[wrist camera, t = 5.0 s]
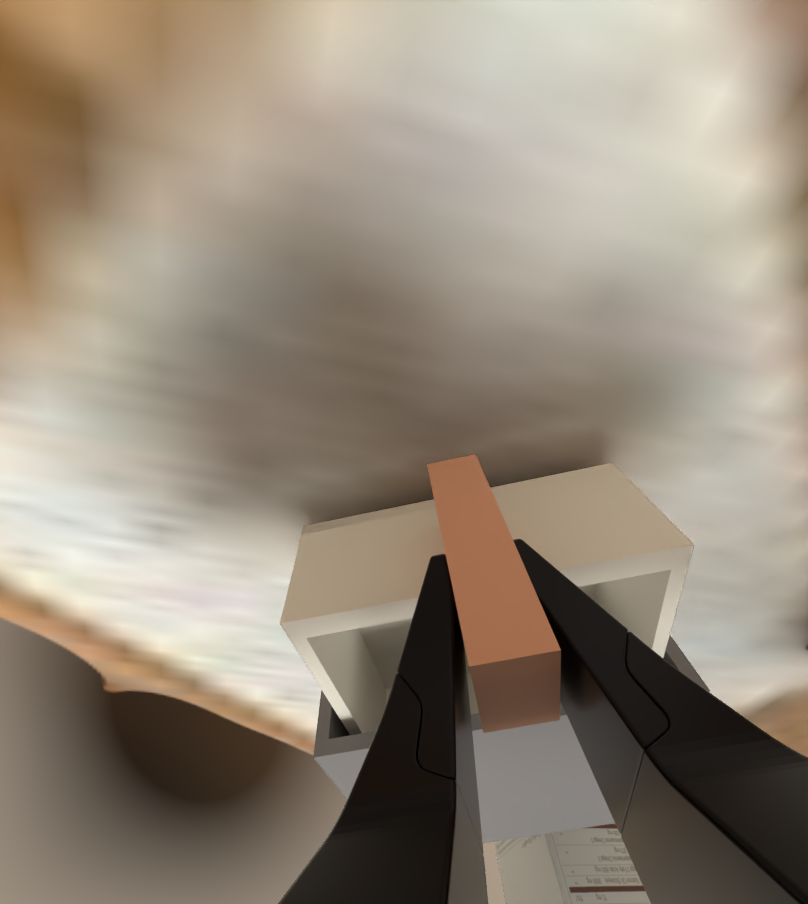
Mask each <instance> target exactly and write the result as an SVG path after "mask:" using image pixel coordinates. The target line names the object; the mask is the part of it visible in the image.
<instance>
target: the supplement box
mask: <svg viewBox="0 0 808 904" xmlns="http://www.w3.org/2000/svg"><path fill="white" fill-rule="evenodd" d="M494 845H495V850H496V855H497V860H498V865H499V871H500V876H501V881H502V886H503V892H504V897H505V901H506V904H651V902H650V900H649V898H648V896H647V893H646V891H645V889H644V887H643V885H642V882H641V880H640V878H639V876H638V873H637V871H636V869H635V867H634V864H633V862H632V860H631V858H630V855H629V853H628V851H627V849H626V847H625V844H624V842H623V840H622V838H621V834H620V833H619V831H618V828H617V826H616V824H615V823H613V824H606V825H600V826H593V827H587V828H580V829H574V830H567V831H561V832H554V833H547V834H541V835H534V836H528V837H521V838H515V839H508V840H502V841H495V842H494Z"/></svg>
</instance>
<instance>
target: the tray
mask: <svg viewBox="0 0 808 904" xmlns="http://www.w3.org/2000/svg"><path fill="white" fill-rule="evenodd" d="M427 468H428V473H429V477H430V482H431V487H432V492H433V497H434V499H433V500H428V501H423V502H418V503H413V504H408V505H404V506H399V507H394V508H389V509H384V510H379V511H374V512H369V513H365V514H360V515H355V516H350V517H345V518H340V519H335V520H330V521H326V522H321V523H316V524H311V525H306V526H304V527H303V531H302V536H301V540H300V544H299V548H298V552H297V556H296V560H295V564H294V568H293V572H292V576H291V580H290V584H289V588H288V593H287V597H286V601H285V605H284V609H283V613H282V617H281V621H280V625H281V626H282V628H283V630H284V631H285V633H286V634H287V636H288V638H289V639H290V641H291V642H292V644H293V645H294V647H295V649H296V650H297V652H298V653H299V655H300V657H301V658H302V660H303V661H304V663H305V664H306V666H307V668H308V669H309V671H310V672H311V674H312V675H313V677H314V679H315V680H316V682H317V683H318V685H319V687H320V688H321V690H322V691H323V693H324V694H325V696H326V698H327V699H328V701H329V702H330V704H331V706H332V707H333V709H334V710H335V712H336V713H337V715H338V717H339V718H340V720H341V721H342V723H343V724H344V726H345V728H346V729H347V731H348V732H349V734H350V735H355V734H361V733H367V732H373V731H376V730H377V728H378V725H379V723H380V720H381V718H382V715H383V713H384V710H385V707H386V703H387V700H388V697H389V694H390V691H391V688H392V685H393V681H394V678H395V675H396V674H398V673H397V668H398V665H399V662H400V658H401V655H402V652H403V648H404V645H405V641H406V638H407V635H408V631H409V628H410V625H411V621H412V618H413V614H414V611H415V608H416V604H417V601H418V598H419V594H420V591H421V588H422V584H423V581H424V577H425V574H426V571H427V567H428V564H429V561H430V558H431V557H432V556H434V555H439V554H445V555H446V559H447V563H448V568H449V573H450V578H451V583H452V587H453V592H454V597H455V602H456V606H457V611H458V616H459V621H460V626H461V630H462V635H463V640H464V647H465V658H466V669H467V680H468V691H469V702H470V713H471V715H472V714H478V713H479V714H480V719H481V724H482V728H483V733H487V732H493V731H499V730H505V729H511V728H517V727H523V726H529V725H535V724H540V723H546V722H552V721H558V720H560V675H561V649H560V647H559V645H558V642H557V640H556V638H555V635H554V633H553V631H552V628H551V626H550V624H549V622H548V619H547V617H546V615H545V612H544V610H543V608H542V605H541V603H540V601H539V599H538V596H537V594H536V592H535V589H534V587H533V585H532V582H531V580H530V578H529V576H528V573H527V571H526V569H525V566H524V564H523V562H522V559H521V557H520V555H519V553H518V550H517V548H516V546H515V543H514V541H513V540H514V539H522V540H523V541H524V542H526V543H527V544H528V545H529V546H530V547H531V548H533V549H534V550H535V551H536V552H537V553H539V554H540V555H541V556H542V557H543V558H544V559H546V560H547V561H548V562H549V563H550V564H552V565H553V566H554V567H555V568H556V569H557V570H559V571H560V572H561V573H562V574H563V575H564V576H566V577H567V578H568V579H569V580H570V581H572V582H573V583H574V584H575V585H576V586H577V587H579V588H580V589H581V590H582V591H583V592H585V593H586V594H587V595H588V596H589V597H590V598H592V599H593V600H594V601H595V602H596V603H597V604H599V605H600V606H601V607H602V608H603V609H605V610H606V611H607V612H608V613H609V614H610V615H612V616H613V617H614V618H615V619H616V620H618V621H619V622H620V623H621V624H622V625H623V626H625V627H626V628H627V629H628V632H629V631H630V632H632V633H633V634H634V635H635V636H637V637H638V638H639V639H640V640H641V641H642V642H644V643H645V644H646V645H647V646H648V647H650V648H651V649H652V650H653V651H655V652H656V653H657V654H658V655H659V656H661V657H662V658H663V657H664V654H665V650H666V646H667V643H668V639H669V635H670V632H671V628H672V624H673V621H674V617H675V613H676V610H677V606H678V602H679V599H680V595H681V591H682V588H683V584H684V580H685V577H686V573H687V569H688V566H689V562H690V558H691V555H692V551H693V547H694V544H693V543H692V542H691V541H690V540H689V539H688V538H687V537H686V536H685V535H684V534H683V533H682V532H681V531H680V530H679V529H678V528H677V527H676V526H675V525H674V524H673V523H672V522H671V521H670V520H669V519H668V518H667V517H666V516H665V515H664V514H663V513H662V512H661V511H660V510H659V509H658V508H657V507H656V506H655V505H654V504H653V503H652V502H651V501H650V500H649V499H648V498H647V497H646V496H645V495H644V494H643V493H642V492H641V491H640V490H639V489H638V488H637V487H636V486H635V485H634V484H633V483H632V482H631V481H630V480H629V479H628V478H627V477H626V476H625V475H624V474H623V473H622V472H621V471H620V470H619V469H618V468H617V467H616V466H615V465H614V464H613V463H608V464H603V465H598V466H594V467H589V468H584V469H579V470H574V471H569V472H564V473H559V474H555V475H550V476H545V477H540V478H535V479H530V480H525V481H520V482H516V483H511V484H506V485H501V486H496V487H491V488H490V486H489V483H488V481H487V479H486V477H485V474H484V472H483V470H482V467H481V465H480V463H479V460H478V458H477V456H476V454H473V455H469V456H464V457H459V458H454V459H450V460H445V461H440V462H435V463H431V464H427Z"/></svg>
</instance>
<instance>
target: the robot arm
mask: <svg viewBox="0 0 808 904" xmlns="http://www.w3.org/2000/svg"><path fill="white" fill-rule="evenodd" d="M513 541H514V543H515V546H516V548H517V550H518V553H519V555H520V557H521V559H522V562H523V564H524V566H525V569H526V571H527V573H528V576H529V578H530V580H531V582H532V585H533V587H534V589H535V592H536V594H537V596H538V599H539V601H540V603H541V605H542V608H543V610H544V612H545V615H546V617H547V619H548V622H549V624H550V626H551V628H552V631H553V633H554V635H555V638H556V640H557V642H558V645H559V647H560V649H561V675H560V701H561V703H562V705H563V708H564V710H565V712H566V714H567V717H568V719H569V721H570V723H571V726H572V728H573V730H574V732H575V735H576V737H577V739H578V741H579V743H580V746H581V748H582V750H583V752H584V755H585V757H586V759H587V761H588V764H589V766H590V768H591V770H592V773H593V775H594V777H595V779H596V781H597V784H598V786H599V788H600V790H601V793H602V795H603V797H604V799H605V802H606V804H607V806H608V808H609V811H610V813H611V815H612V817H613V819H614V822H615V824H616V826H617V828H618V831H619V833H620V834H621V838H622V840H623V842H624V844H625V847H626V849H627V851H628V853H629V855H630V858H631V860H632V862H633V864H634V867H635V869H636V871H637V873H638V876H639V878H640V880H641V882H642V885H643V887H644V889H645V891H646V893H647V896H648V898H649V900H650V902H651V904H808V757H806V756H804V755H802V754H800V753H798V752H796V751H795V750H793V749H791V748H789V747H787V746H786V745H784V744H783V743H781V742H779V741H778V740H776V739H774V738H773V737H771V736H770V735H769V734H767V733H766V732H764V731H763V730H761V729H760V728H758V727H757V726H756V725H754V724H753V723H751V722H750V721H749V720H747V719H746V718H744V717H743V716H742V715H740V714H739V713H737V712H736V711H735V710H733V709H732V708H730V707H729V706H728V705H726V704H725V703H723V702H722V701H721V700H719V699H718V698H716V697H715V696H714V695H712V694H711V693H709V692H708V691H707V690H705V689H704V688H702V687H701V686H700V685H698V684H697V683H695V682H694V681H693V680H691V679H690V678H688V677H687V676H686V675H684V674H683V673H682V672H680V671H679V670H678V669H676V668H675V667H674V666H672V665H671V664H670V663H668V662H667V661H666V660H664V659H663V658H662V657H661V656H659V655H658V654H657V653H656V652H655V651H653V650H652V649H651V648H650V647H648V646H647V645H646V644H645V643H644V642H642V641H641V640H640V639H639V638H638V637H637V636H635V635H634V634H633V633H632V632H630V631H629V632H628V629H627V628H626V627H625V626H623V625H622V624H621V623H620V622H619V621H618V620H616V619H615V618H614V617H613V616H612V615H610V614H609V613H608V612H607V611H606V610H605V609H603V608H602V607H601V606H600V605H599V604H597V603H596V602H595V601H594V600H593V599H592V598H590V597H589V596H588V595H587V594H586V593H585V592H583V591H582V590H581V589H580V588H579V587H577V586H576V585H575V584H574V583H573V582H572V581H570V580H569V579H568V578H567V577H566V576H564V575H563V574H562V573H561V572H560V571H559V570H557V569H556V568H555V567H554V566H553V565H552V564H550V563H549V562H548V561H547V560H546V559H544V558H543V557H542V556H541V555H540V554H539V553H537V552H536V551H535V550H534V549H533V548H531V547H530V546H529V545H528V544H527V543H526V542H524V541H523V540H522V539H514V540H513ZM397 673H398V674H396V675H395V678H394V681H393V685H392V688H391V691H390V694H389V697H388V700H387V703H386V707H385V710H384V713H383V715H382V718H381V720H380V723H379V725H378V728H377V730H376V733H375V736H374V738H373V740H372V743H371V745H370V747H369V750H368V752H367V755H366V757H365V759H364V762H363V764H362V766H361V769H360V771H359V774H358V776H357V778H356V781H355V783H354V785H353V788H352V790H351V792H350V795H349V797H348V799H347V802H346V804H345V806H344V808H343V810H342V812H341V815H340V816H339V818H338V820H337V822H336V824H335V826H334V827H333V829H332V831H331V832H330V834H329V835H328V837H327V838H326V840H325V841H324V843H323V844H322V845H321V847H320V848H319V850H318V851H317V852H316V854H315V855H314V856H313V858H312V859H311V860H310V862H309V863H308V864H307V866H306V867H305V868H304V870H303V871H302V872H301V874H300V875H299V876H298V878H297V879H296V880H295V882H294V883H293V884H292V886H291V887H290V888H289V890H288V891H287V893H286V894H285V895H284V897H283V898H282V899H281V901H280V902H279V903H278V904H488V897H487V886H486V876H485V865H484V857H483V843H482V832H481V821H480V810H479V799H478V789H477V778H476V767H475V756H474V745H473V734H472V723H471V713H470V702H469V691H468V680H467V669H466V658H465V647H464V640H463V635H462V630H461V626H460V621H459V616H458V611H457V606H456V602H455V597H454V592H453V587H452V583H451V578H450V573H449V568H448V563H447V559H446V555H445V554H439V555H434V556H432V557H431V558H430V561H429V564H428V567H427V571H426V574H425V577H424V581H423V584H422V588H421V591H420V594H419V598H418V601H417V604H416V608H415V611H414V614H413V618H412V621H411V625H410V628H409V631H408V635H407V638H406V641H405V645H404V648H403V652H402V655H401V658H400V662H399V665H398V668H397Z"/></svg>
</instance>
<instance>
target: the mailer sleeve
mask: <svg viewBox="0 0 808 904" xmlns="http://www.w3.org/2000/svg"><path fill="white" fill-rule="evenodd" d="M663 659H664V660H666V661H667V662H668V663H670V664H671V665H672V666H674V667H675V668H676V669H678V670H679V671H680V672H682V673H683V674H684V675H686V676H687V677H688V678H690V679H691V680H693V681H694V682H695V683H697V684H698V685H700V686H701V687H702V688H704V689H705V690H707V691H708V692H709V691H710V690H709V689H708V687H707V686H706V684H705V683H704V682H703V680H702V679H701V677H700V676H699V675H698V673H697V672H696V670H695V669H694V668H693V666H692V665H691V663H690V662H689V661H688V659H687V658H686V657H685V655H684V654H683V652H682V651H681V650H680V648H679V647H678V645H677V644H676V643H675V641H674V640H673V638H672V637H671V636H670V635H669V639H668V643H667V646H666V650H665V654H664V657H663ZM471 723H472V734H473V745H474V756H475V767H476V778H477V789H478V799H479V810H480V821H481V832H482V843H488V842H495V841H502V840H508V839H515V838H521V837H528V836H534V835H541V834H547V833H554V832H561V831H567V830H574V829H580V828H587V827H593V826H600V825H606V824H613V823H615V822H614V819H613V817H612V815H611V813H610V811H609V808H608V806H607V804H606V802H605V799H604V797H603V795H602V793H601V790H600V788H599V786H598V784H597V781H596V779H595V777H594V775H593V773H592V770H591V768H590V766H589V764H588V761H587V759H586V757H585V755H584V752H583V750H582V748H581V746H580V743H579V741H578V739H577V737H576V735H575V732H574V730H573V728H572V726H571V723H570V721H569V719H568V717H567V714H566V712H565V710H564V708H563V705H562V703H561V701H560V720H558V721H552V722H546V723H540V724H535V725H529V726H523V727H517V728H511V729H505V730H499V731H493V732H487V733H483V728H482V724H481V719H480V714H479V713H478V714H472V715H471ZM375 733H376V731H373V732H367V733H361V734H355V735H350V734H349V732H348V731H347V729H346V728H345V726H344V724H343V723H342V721H341V720H340V718H339V717H338V715H337V713H336V712H335V710H334V709H333V707H332V706H331V704H330V702H329V701H328V699H327V698H326V696H325V694H324V693H323V691H321V699H320V707H319V716H318V724H317V732H316V741H315V749H314V757H313V758H314V759H315V760H316V762H317V763H318V764H319V765H320V766H321V768H322V769H323V770H324V771H325V773H326V774H327V775H328V776H329V778H330V779H331V780H332V781H333V783H334V784H335V785H336V786H337V788H338V789H339V790H340V791H341V793H342V794H343V795H344V796H345V798H346V799H348V797H349V795H350V792H351V790H352V788H353V785H354V783H355V781H356V778H357V776H358V774H359V771H360V769H361V766H362V764H363V762H364V759H365V757H366V755H367V752H368V750H369V747H370V745H371V743H372V740H373V738H374V736H375Z"/></svg>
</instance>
